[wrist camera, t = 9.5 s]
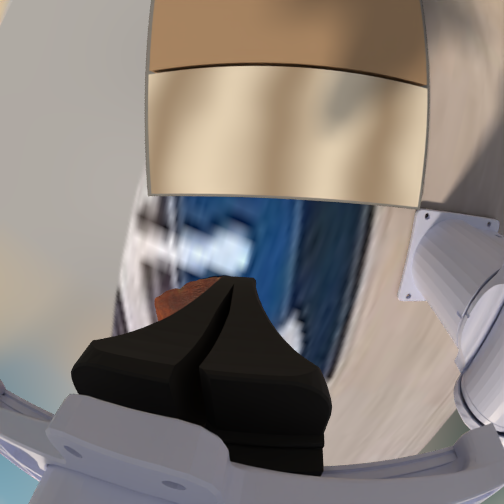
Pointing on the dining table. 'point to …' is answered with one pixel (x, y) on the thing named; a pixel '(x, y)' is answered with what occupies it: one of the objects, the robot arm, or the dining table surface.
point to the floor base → (290, 44)
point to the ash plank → (286, 134)
